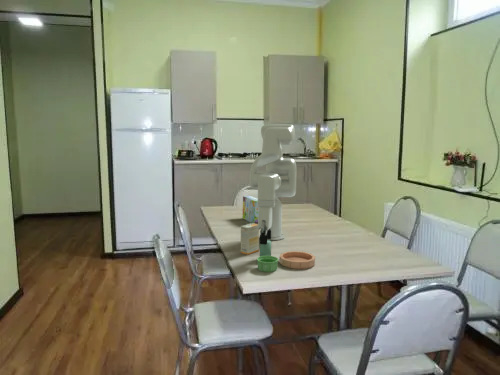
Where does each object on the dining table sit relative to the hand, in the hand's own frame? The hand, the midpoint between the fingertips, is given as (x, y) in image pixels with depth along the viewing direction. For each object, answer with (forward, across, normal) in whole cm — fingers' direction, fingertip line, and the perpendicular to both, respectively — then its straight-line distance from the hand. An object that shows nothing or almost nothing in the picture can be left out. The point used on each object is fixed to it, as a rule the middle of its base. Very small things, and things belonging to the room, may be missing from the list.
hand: (265, 241), depth 180 cm
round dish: (+8, +2, +14) cm, 17 cm away
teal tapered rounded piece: (+8, -1, 0) cm, 8 cm away
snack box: (+7, -73, -22) cm, 76 cm away
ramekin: (+9, +12, +3) cm, 15 cm away
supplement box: (+8, -9, -9) cm, 15 cm away
